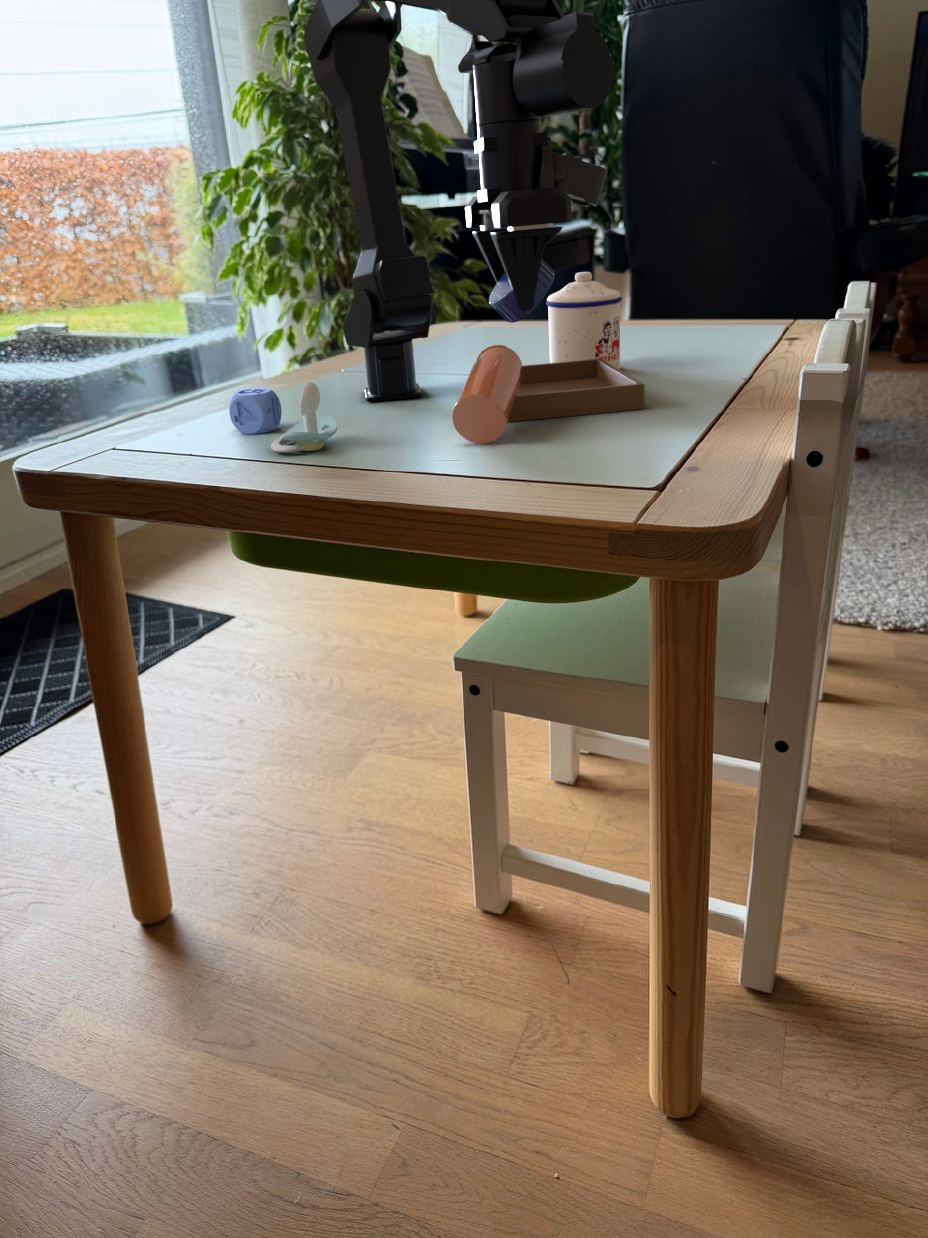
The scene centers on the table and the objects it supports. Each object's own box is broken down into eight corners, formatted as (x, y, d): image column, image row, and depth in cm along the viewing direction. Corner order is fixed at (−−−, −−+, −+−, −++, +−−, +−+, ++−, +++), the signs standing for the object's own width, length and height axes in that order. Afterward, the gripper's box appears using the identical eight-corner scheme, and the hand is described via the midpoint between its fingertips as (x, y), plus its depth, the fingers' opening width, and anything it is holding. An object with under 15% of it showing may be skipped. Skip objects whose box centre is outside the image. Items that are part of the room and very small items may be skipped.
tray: (474, 391, 111) (472, 369, 110) (600, 379, 112) (600, 358, 111) (497, 422, 95) (496, 398, 94) (644, 408, 97) (644, 384, 96)
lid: (512, 331, 89) (491, 312, 88) (504, 312, 94) (485, 293, 93) (560, 280, 87) (539, 260, 85) (549, 263, 92) (530, 244, 91)
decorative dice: (266, 434, 98) (260, 395, 96) (232, 434, 99) (226, 395, 97) (284, 425, 101) (278, 387, 100) (251, 424, 102) (245, 387, 101)
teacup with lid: (609, 379, 112) (608, 275, 108) (537, 377, 116) (534, 277, 111) (636, 361, 122) (637, 265, 117) (570, 360, 126) (568, 267, 121)
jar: (449, 438, 88) (472, 384, 96) (502, 448, 88) (520, 394, 96) (454, 389, 85) (478, 338, 93) (509, 400, 85) (528, 348, 93)
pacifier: (261, 459, 89) (323, 455, 88) (249, 392, 86) (312, 387, 85) (287, 440, 95) (344, 436, 94) (275, 377, 93) (334, 372, 92)
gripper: (629, 105, 77) (631, 307, 83) (569, 127, 94) (575, 292, 100) (494, 115, 75) (507, 319, 82) (458, 135, 92) (471, 303, 99)
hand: (519, 307), depth 90 cm, fingers closed on lid, 6 cm apart
